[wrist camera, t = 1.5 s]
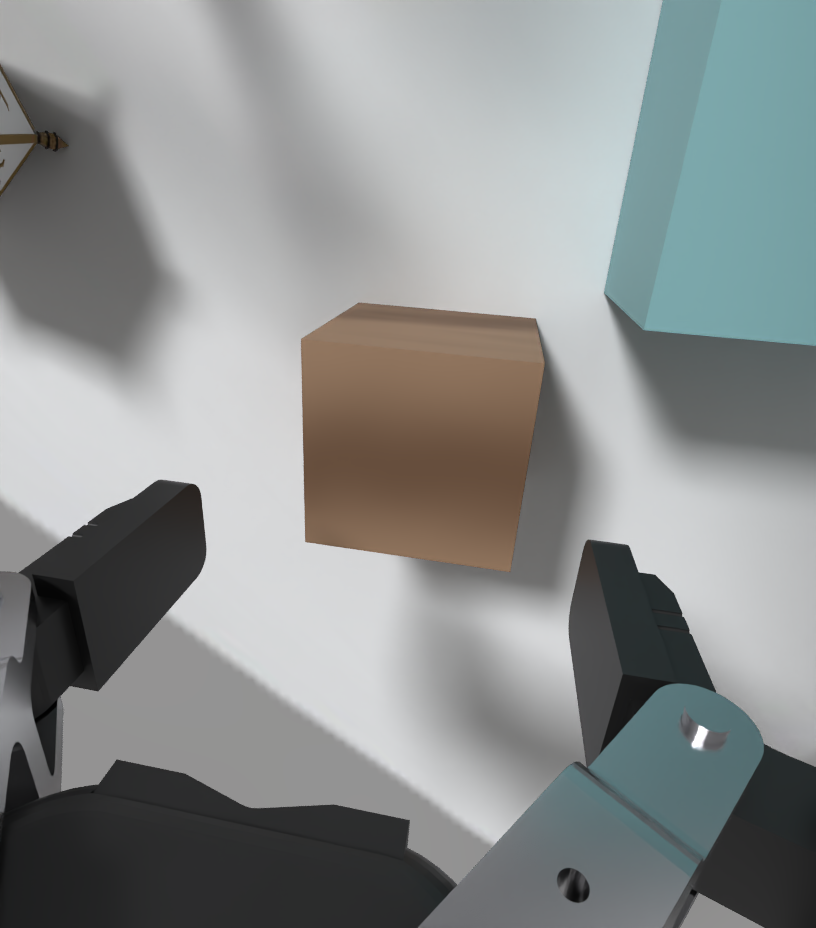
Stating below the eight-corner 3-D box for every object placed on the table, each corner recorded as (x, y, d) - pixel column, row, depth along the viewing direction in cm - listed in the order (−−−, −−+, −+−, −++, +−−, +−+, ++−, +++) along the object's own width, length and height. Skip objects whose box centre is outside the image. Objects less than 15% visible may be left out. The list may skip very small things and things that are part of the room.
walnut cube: (359, 302, 19) (301, 339, 14) (535, 318, 19) (545, 363, 13) (356, 459, 22) (305, 541, 17) (510, 479, 21) (510, 571, 16)
